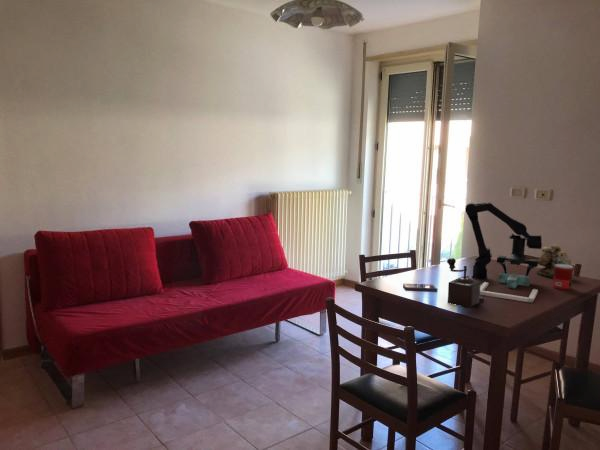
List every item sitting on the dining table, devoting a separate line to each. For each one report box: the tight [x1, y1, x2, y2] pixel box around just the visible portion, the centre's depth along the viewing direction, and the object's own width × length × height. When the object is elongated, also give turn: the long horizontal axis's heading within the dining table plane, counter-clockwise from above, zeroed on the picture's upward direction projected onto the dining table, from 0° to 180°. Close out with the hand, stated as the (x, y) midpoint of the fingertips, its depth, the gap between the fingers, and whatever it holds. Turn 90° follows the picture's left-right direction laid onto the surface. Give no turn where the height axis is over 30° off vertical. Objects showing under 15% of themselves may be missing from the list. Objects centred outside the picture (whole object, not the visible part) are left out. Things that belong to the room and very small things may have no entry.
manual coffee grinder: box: [446, 257, 481, 308], centre depth 217 cm, size 16×11×18 cm
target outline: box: [480, 281, 539, 304], centre depth 231 cm, size 24×18×2 cm
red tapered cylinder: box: [552, 264, 574, 291], centre depth 241 cm, size 8×8×11 cm
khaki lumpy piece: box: [536, 244, 572, 279], centre depth 263 cm, size 18×12×17 cm, turn 40°
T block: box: [498, 272, 531, 289], centre depth 245 cm, size 14×12×4 cm
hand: (516, 277), depth 254 cm, fingers open, 9 cm apart
